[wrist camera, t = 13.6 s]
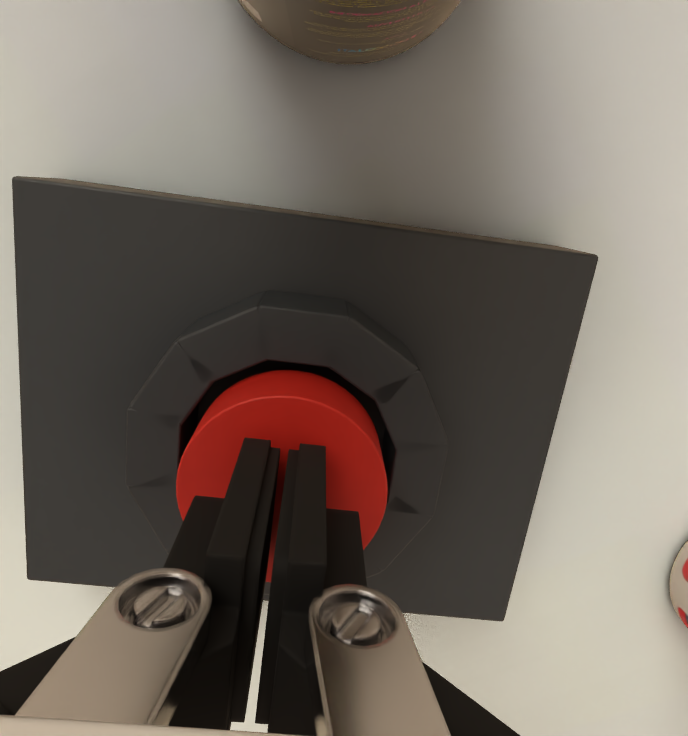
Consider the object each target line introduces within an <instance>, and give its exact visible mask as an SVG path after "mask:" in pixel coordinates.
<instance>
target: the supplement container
mask: <svg viewBox="0 0 688 736" xmlns="http://www.w3.org/2000/svg"><path fill="white" fill-rule="evenodd" d="M238 1H239V2H240V4H241V5H242V6H243V8H244V9H245V10H246V11H247V13H248V14H249V15H250V16H251V17H252V18H253V20H254V21H255V22H256V23H257V24H258V25H259V26H260V27H261V28H262V29H264V30H265V31H266V32H267V33H268V34H269V35H270V36H272V37H273V38H275V39H276V40H277V41H279V42H280V43H282V44H283V45H285V46H287V47H288V48H290V49H292V50H294V51H296V52H298V53H300V54H303V55H305V56H307V57H310V58H313V59H317V60H320V61H324V62H330V63H335V64H365V63H371V62H377V61H380V60H384V59H387V58H391V57H393V56H396V55H398V54H400V53H403V52H405V51H407V50H408V49H410V48H412V47H414V46H416V45H417V44H419V43H420V42H421V41H423V40H424V39H426V38H427V37H428V36H430V35H431V34H432V33H433V32H434V31H435V30H437V29H438V28H439V27H440V26H441V25H442V24H443V23H444V22H445V21H446V20H447V18H448V17H449V16H450V15H451V14H452V12H453V11H454V10H455V9H456V7H457V6H458V5H459V3H460V2H461V1H462V0H238Z"/></svg>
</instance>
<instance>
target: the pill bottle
mask: <svg viewBox="0 0 688 736" xmlns="http://www.w3.org/2000/svg"><path fill="white" fill-rule="evenodd" d="M670 597H671V601H672V604H673V606H674V609H675V611H676V613H677V614H678V616H679V617H680V619H681V620H682V621H683V623H684V624H685V625H686V626H687V628H688V541H687V542H686V543H685V544H684V546H683V547H682V549H681V550H680V552H679V553H678V555H677V557H676V559H675V562H674V564H673V567H672V571H671V575H670Z"/></svg>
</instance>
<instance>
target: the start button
mask: <svg viewBox="0 0 688 736" xmlns="http://www.w3.org/2000/svg"><path fill="white" fill-rule="evenodd" d="M245 437H246V438H255V439H265V440H271V447H274V448H280V459H279V468H278V477H277V486H276V495H275V504H274V514H273V523H272V532H271V541H270V550H269V559H268V568H267V575H266V582H271V576H272V568H273V560H274V552H275V545H276V537H277V530H278V523H279V516H280V509H281V502H282V494H283V487H284V480H285V473H286V466H287V459H288V451H289V449H293V450H299V446H300V443H302V444H312V445H321V446H326V508H329V509H339V510H349V511H358V512H359V518H360V527H361V536H362V545H363V550H364V549H365V547H366V546H367V545H368V544H369V542H370V541H371V540H372V538H373V537H374V535H375V533H376V532H377V530H378V528H379V526H380V524H381V521H382V519H383V516H384V513H385V509H386V505H387V495H388V486H387V476H386V471H385V466H384V462H383V457H382V452H381V448H380V443H379V438H378V434H377V431H376V429H375V426H374V423H373V422H372V420H371V418H370V416H369V414H368V413H367V411H366V410H365V408H364V407H363V405H362V404H361V403H360V402H359V401H358V400H357V399H356V398H355V397H354V396H353V395H352V394H351V393H350V392H348V391H347V390H346V389H345V388H343V387H341V386H340V385H338V384H337V383H335V382H333V381H331V380H329V379H327V378H325V377H322V376H319V375H316V374H313V373H309V372H303V371H298V370H275V371H268V372H263V373H259V374H256V375H253V376H250V377H247V378H245V379H243V380H241V381H239V382H237V383H235V384H234V385H232V386H231V387H229V388H228V389H226V390H225V391H224V392H223V393H222V394H220V395H219V396H218V397H217V398H216V399H215V400H214V402H213V403H212V404H211V405H210V406H209V408H208V409H207V411H206V412H205V414H204V415H203V417H202V419H201V421H200V423H199V424H198V426H197V428H196V430H195V432H194V434H193V435H192V437H191V439H190V441H189V443H188V444H187V446H186V448H185V451H184V453H183V455H182V457H181V460H180V464H179V467H178V471H177V479H176V497H177V502H178V508H179V511H180V514H181V517H182V520H183V521H184V519H185V516H186V514H187V512H188V509H189V507H190V505H191V502H192V500H193V498H194V497H195V496H196V495H198V496H208V497H218V498H225V495H226V492H227V489H228V486H229V483H230V480H231V477H232V474H233V471H234V468H235V465H236V462H237V459H238V456H239V453H240V450H241V447H242V443H243V440H244V438H245Z"/></svg>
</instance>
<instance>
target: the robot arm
mask: <svg viewBox="0 0 688 736" xmlns="http://www.w3.org/2000/svg"><path fill="white" fill-rule="evenodd" d="M279 459H280V448H274V447H271V440H265V439H255V438H246V437H245V438H244V440H243V443H242V447H241V450H240V453H239V456H238V459H237V462H236V465H235V468H234V471H233V474H232V477H231V480H230V483H229V486H228V489H227V492H226V495H225V498H218V497H208V496H198V495H196V496H195V497H194V498H193V500H192V502H191V505H190V507H189V509H188V512H187V514H186V516H185V519H184V521H183V523H182V525H181V528H180V530H179V532H178V535H177V537H176V539H175V542H174V544H173V546H172V548H171V551H170V553H169V555H168V558H167V560H166V562H165V565H164V567H163V568H157V569H149V570H146V571H143V572H140V573H136V574H134V575H132V576H130V577H129V578H127V579H125V580H123V581H122V582H121V583H120V584H119V585H118V586H117V587H115V588H114V589H113V590H112V592H111V593H110V594H109V595H108V597H107V598H106V599H105V601H104V602H103V603H102V604H101V606H100V607H99V608H98V609H97V611H96V612H95V613H94V615H93V616H92V617H91V618H90V620H89V621H88V622H87V623H86V625H85V626H84V627H83V629H82V630H81V631H80V632H79V634H78V635H77V636H76V637H74V638H72V639H70V640H68V641H66V642H64V643H61V644H59V645H57V646H55V647H53V648H51V649H48V650H46V651H44V652H42V653H40V654H38V655H35V656H33V657H31V658H29V659H27V660H24V661H22V662H20V663H18V664H16V665H14V666H11V667H9V668H7V669H5V670H3V671H1V672H0V736H520V735H519V734H517V733H516V732H515V731H513V730H512V729H511V728H509V727H508V726H507V725H505V724H504V723H503V722H501V721H500V720H499V719H497V718H496V717H495V716H494V715H492V714H491V713H490V712H488V711H487V710H486V709H484V708H483V707H482V706H480V705H479V704H478V703H476V702H475V701H474V700H472V699H471V698H470V697H468V696H467V695H466V694H464V693H463V692H462V691H460V690H459V689H458V688H456V687H455V686H454V685H453V684H451V683H450V682H449V681H447V680H446V679H445V678H443V677H442V676H441V675H439V674H438V673H437V672H435V671H434V670H433V669H431V668H430V667H429V666H427V665H426V664H425V663H423V662H422V661H421V658H420V655H419V653H418V650H417V648H416V645H415V643H414V640H413V638H412V635H411V632H410V630H409V627H408V625H407V622H406V620H405V617H404V615H403V613H402V612H401V610H400V608H399V607H398V605H397V604H396V603H395V602H394V601H393V600H392V599H390V598H389V597H388V596H387V595H385V594H383V593H381V592H379V591H378V590H376V589H373V588H370V587H367V581H366V572H365V563H364V554H363V545H362V536H361V527H360V518H359V512H358V511H349V510H339V509H329V508H326V446H321V445H312V444H302V443H300V446H299V450H293V449H289V451H288V459H287V466H286V473H285V480H284V487H283V494H282V502H281V509H280V516H279V523H278V530H277V537H276V545H275V552H274V560H273V568H272V576H271V585H270V594H269V603H268V612H267V621H266V630H265V639H264V647H263V656H262V665H261V674H260V683H259V692H258V701H257V710H256V719H255V723H259V724H268V733H261V732H247V731H233V730H230V726H231V722H244V720H245V714H246V708H247V701H248V694H249V688H250V681H251V675H252V668H253V661H254V655H255V648H256V642H257V635H258V628H259V622H260V615H261V609H262V602H263V595H264V589H265V582H266V575H267V568H268V559H269V550H270V541H271V532H272V523H273V514H274V504H275V495H276V486H277V477H278V468H279Z"/></svg>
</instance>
